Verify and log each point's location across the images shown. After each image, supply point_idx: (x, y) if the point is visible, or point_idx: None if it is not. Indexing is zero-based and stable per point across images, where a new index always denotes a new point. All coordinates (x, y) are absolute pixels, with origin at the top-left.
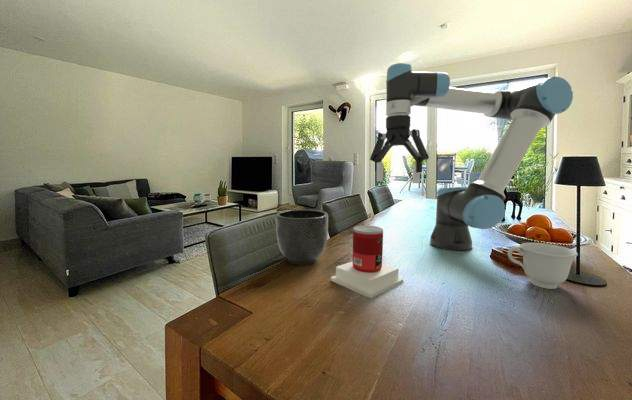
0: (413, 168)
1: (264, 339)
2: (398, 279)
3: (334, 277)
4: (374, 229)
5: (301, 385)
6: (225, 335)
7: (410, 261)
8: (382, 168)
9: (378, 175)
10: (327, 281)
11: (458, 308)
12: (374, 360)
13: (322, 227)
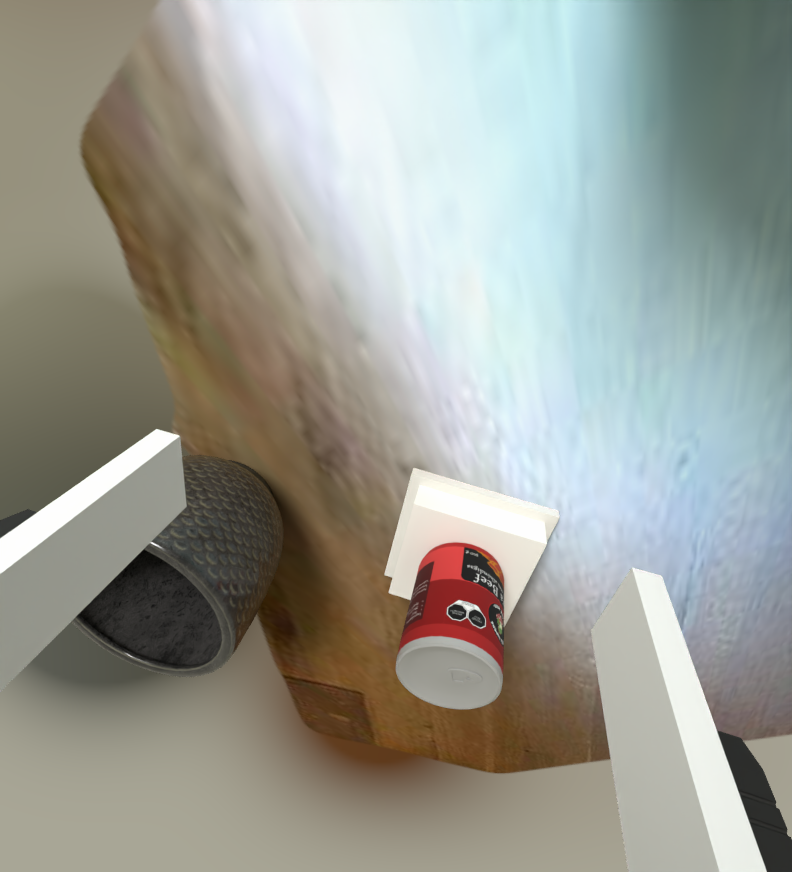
0: (627, 822)
1: (426, 727)
2: (546, 524)
3: (392, 573)
4: (465, 664)
5: (515, 765)
6: (379, 731)
7: (538, 311)
8: (48, 550)
9: (139, 550)
10: (383, 573)
11: (716, 581)
12: (577, 728)
13: (253, 598)
